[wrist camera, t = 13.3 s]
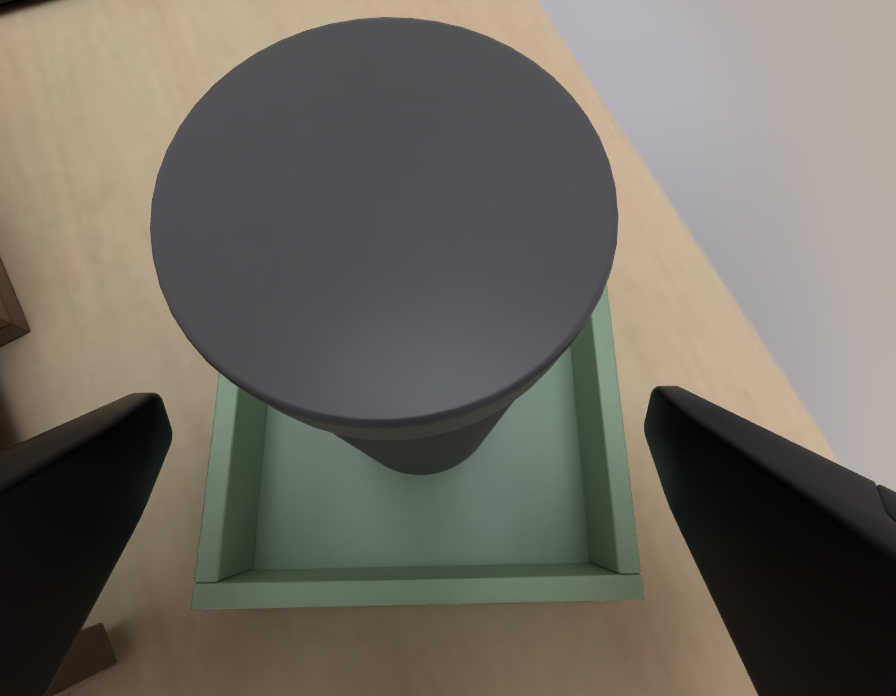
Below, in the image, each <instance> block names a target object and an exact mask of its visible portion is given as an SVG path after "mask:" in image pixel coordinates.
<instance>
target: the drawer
mask: <svg viewBox="0 0 896 696" xmlns="http://www.w3.org/2000/svg"><path fill="white" fill-rule="evenodd" d="M0 452H1V450H0ZM116 664H117V659H116V656H115V654H114V651H113V648H112V646H111V643H110V641H109V638H108V635H107V633H106V630H105V628H104V625H103V623H99V624H96V625H93V626H90V627H88V628H85V629H82V630H80V632H79V634H78V636H77V638H76V640H75V642H74V643H73V645H72V647H71V649H70V651H69V653H68V655H67V657H66V658H65V660H64V662H63V664H62V666H61V668H60V670H59V672H58V673H57V675H56V677H55V679H54V681H53V683H52V685H51V686H50V688H49V690H48V692H47V694H46V696H67V695H69V694H70V693H72V692H74V691H75V690H77V689H78V688H80V687H81V686H83V685H85V684H86V683H88V682H89V681H91V680H92V679H94V678H96V677H97V676H99V675H100V674H102V673H104V672H105V671H107V670H108V669H110V668H111V667H113V666H115V665H116Z"/></svg>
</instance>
